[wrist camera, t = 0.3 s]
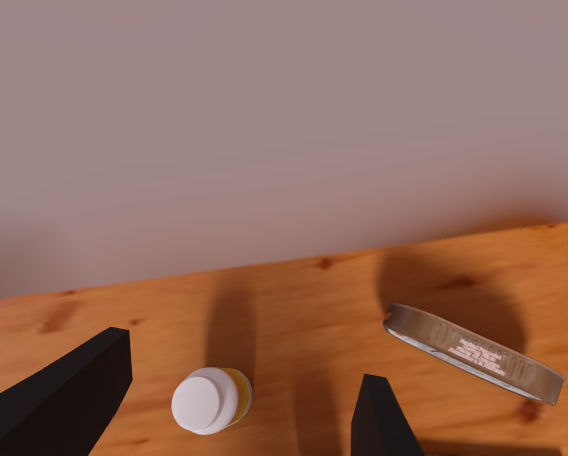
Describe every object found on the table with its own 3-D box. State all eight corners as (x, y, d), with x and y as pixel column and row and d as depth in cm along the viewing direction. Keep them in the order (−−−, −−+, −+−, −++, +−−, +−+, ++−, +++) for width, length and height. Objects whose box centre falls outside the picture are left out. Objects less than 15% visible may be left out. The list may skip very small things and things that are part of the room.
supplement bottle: (239, 358, 40) (211, 354, 31) (262, 407, 38) (239, 418, 29) (194, 383, 40) (153, 387, 31) (214, 434, 38) (176, 455, 29)
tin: (536, 375, 36) (591, 376, 28) (527, 407, 35) (581, 417, 27) (385, 306, 40) (398, 290, 32) (374, 333, 39) (384, 324, 31)
